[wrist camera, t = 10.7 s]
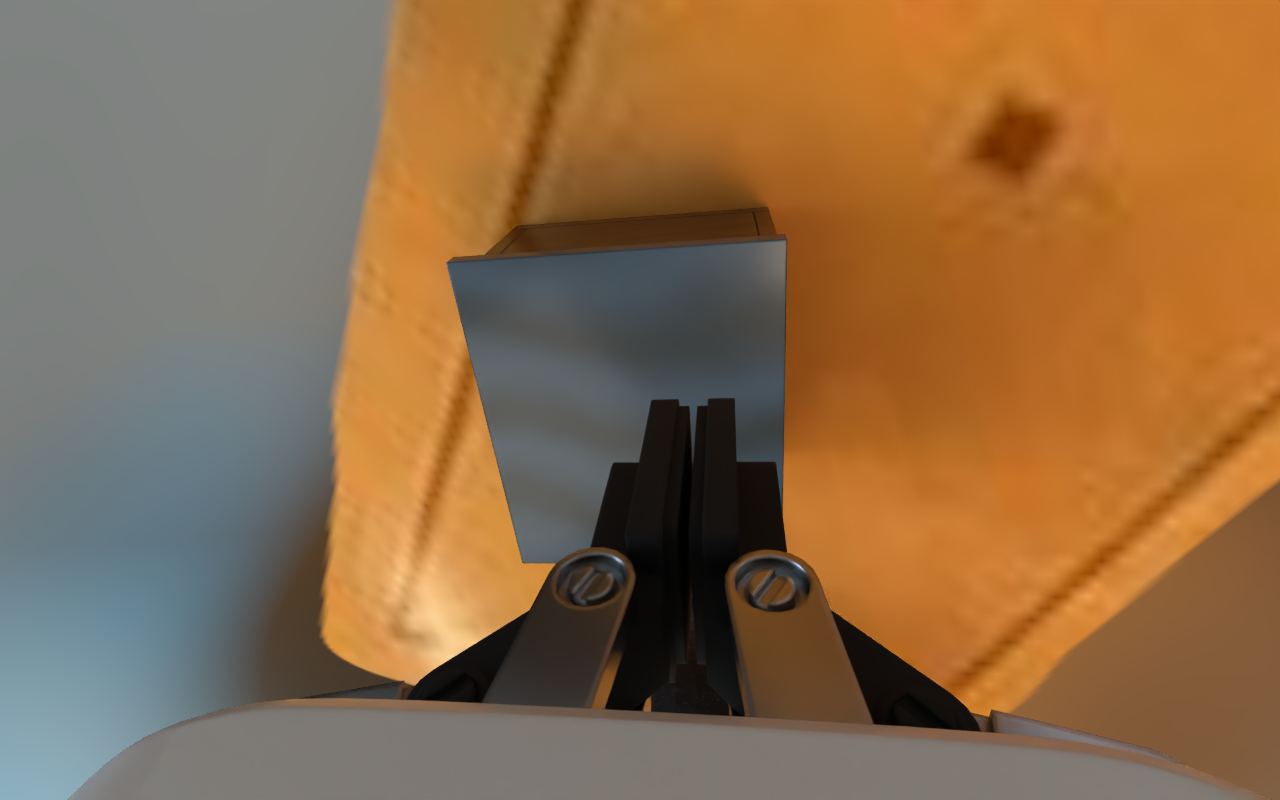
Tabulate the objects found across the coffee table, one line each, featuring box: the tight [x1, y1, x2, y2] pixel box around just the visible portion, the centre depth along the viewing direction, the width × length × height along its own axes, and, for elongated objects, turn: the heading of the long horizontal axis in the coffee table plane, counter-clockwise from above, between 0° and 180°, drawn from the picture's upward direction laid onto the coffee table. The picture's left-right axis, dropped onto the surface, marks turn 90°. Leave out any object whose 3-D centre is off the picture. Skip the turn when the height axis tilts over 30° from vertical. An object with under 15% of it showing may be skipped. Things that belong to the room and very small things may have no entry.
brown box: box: [485, 207, 777, 255], centre depth 33 cm, size 16×14×9 cm
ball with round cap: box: [651, 599, 729, 716], centre depth 43 cm, size 13×13×15 cm
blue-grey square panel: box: [447, 234, 787, 563], centre depth 29 cm, size 16×14×1 cm
